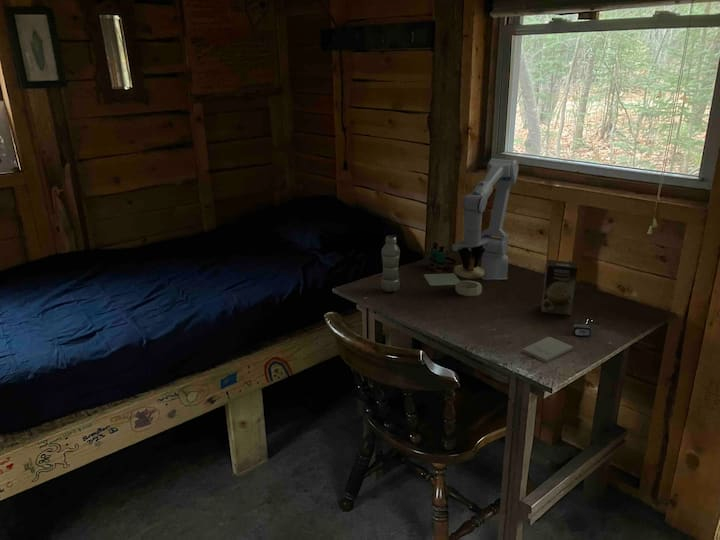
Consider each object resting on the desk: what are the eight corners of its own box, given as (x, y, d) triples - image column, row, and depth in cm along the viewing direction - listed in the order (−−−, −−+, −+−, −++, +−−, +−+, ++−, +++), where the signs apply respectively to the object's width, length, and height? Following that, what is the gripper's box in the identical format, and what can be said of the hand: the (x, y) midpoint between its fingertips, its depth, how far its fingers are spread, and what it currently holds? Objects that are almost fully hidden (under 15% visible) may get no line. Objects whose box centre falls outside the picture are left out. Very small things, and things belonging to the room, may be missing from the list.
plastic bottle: (402, 292, 198) (404, 238, 191) (385, 295, 196) (386, 240, 189) (395, 286, 204) (396, 233, 197) (377, 289, 201) (378, 235, 195)
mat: (453, 274, 215) (454, 273, 215) (462, 285, 204) (462, 284, 204) (423, 275, 214) (423, 274, 214) (430, 287, 203) (430, 285, 203)
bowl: (476, 288, 202) (476, 280, 201) (483, 296, 194) (484, 288, 193) (453, 288, 201) (453, 281, 200) (459, 297, 193) (460, 289, 192)
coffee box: (541, 312, 181) (546, 265, 176) (540, 304, 187) (546, 259, 182) (571, 315, 179) (577, 267, 174) (570, 307, 185) (576, 261, 180)
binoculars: (461, 246, 217) (439, 247, 213) (457, 272, 220) (436, 274, 216) (448, 240, 225) (427, 241, 220) (445, 266, 228) (424, 267, 223)
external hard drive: (572, 351, 157) (545, 364, 150) (547, 341, 163) (520, 353, 156) (573, 346, 156) (546, 359, 149) (548, 336, 163) (521, 348, 156)
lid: (471, 266, 202) (473, 251, 200) (490, 275, 193) (492, 260, 191) (447, 269, 198) (449, 254, 196) (465, 280, 189) (467, 264, 187)
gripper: (482, 224, 196) (480, 261, 201) (447, 229, 191) (445, 267, 195) (495, 229, 190) (492, 267, 195) (459, 234, 185) (457, 273, 189)
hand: (469, 267), depth 195 cm, fingers closed on lid, 3 cm apart
